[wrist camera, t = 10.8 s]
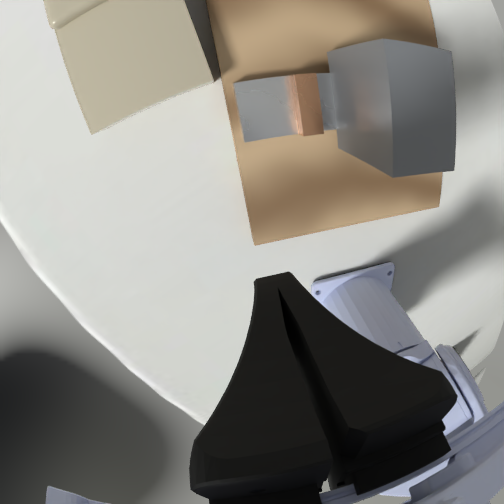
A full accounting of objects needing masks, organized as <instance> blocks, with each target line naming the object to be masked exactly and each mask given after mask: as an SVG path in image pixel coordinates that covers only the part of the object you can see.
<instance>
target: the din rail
mask: <svg viewBox="0 0 504 504" xmlns="http://www.w3.org/2000/svg"><path fill="white" fill-rule="evenodd" d="M232 85H233V90H234V96H235V101H236V106H237V111H238V117H239V122H240V127H241V132H242V138H243V141H244V142H245V143H246V142H251V141H257V140H262V139H268V138H274V137H281V136H287V135H294V134H299V135H302V136H311V135H319V134H324V131H326V130H335V129H336V118H335V109H334V100H333V92H332V84H331V77H330V73H317V74H316V73H307V74H294V75H290V76H280V77H271V78H263V79H256V80H249V81H243V82H237V83H233V84H232Z"/></svg>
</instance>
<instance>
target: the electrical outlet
mask: <svg viewBox="0 0 504 504" xmlns="http://www.w3.org/2000/svg"><path fill="white" fill-rule="evenodd" d="M43 1H44V5H45V10H46V14H47V18H48V22H49V25H50V27H51V28H52V29H55V33H56V36H57V40H58V43H59V47H60V50H61V53H62V56H63V60H64V63H65V66H66V69H67V72H68V75H69V78H70V81H71V83H72V86H73V89H74V92H75V95H76V97H77V100H78V103H79V105H80V108H81V110H82V113H83V116H84V118H85V121H86V123H87V126H88V128H89V130H90V133H91V135H93V134H95V133H97V132H100V131H102V130H105V129H108V128H109V127H111V126H113V125H115V124H117V123H119V122H121V121H123V120H125V119H127V118H129V117H131V116H133V115H135V114H137V113H139V112H142V111H144V110H146V109H148V108H150V107H152V106H155V105H157V104H159V103H162V102H164V101H166V100H169V99H171V98H174V97H176V96H179V95H181V94H184V93H186V92H189V91H192V90H194V89H197V88H200V87H203V86H205V85H208V84H211V83H213V82H214V79H213V77H212V74H211V71H210V68H209V66H208V63H207V60H206V57H205V55H204V52H203V49H202V47H201V44H200V41H199V38H198V36H197V33H196V30H195V28H194V25H193V22H192V20H191V17H190V14H189V12H188V9H187V7H186V4H185V1H184V0H43Z"/></svg>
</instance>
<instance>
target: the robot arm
mask: <svg viewBox="0 0 504 504" xmlns="http://www.w3.org/2000/svg"><path fill="white" fill-rule="evenodd" d="M394 269H395V265H394V264H393V263H392V262H388V263H384V264H381V265H377V266H373V267H370V268H366V269H362V270H358V271H354V272H351V273H347V274H343V275H339V276H335V277H331V278H327V279H323V280H319V281H315V282H314V283H313V284H312V285H311V293H312V295H311V294H310V293H309V292H308V291H307V290H306V289H305V288H304V287H303V286H302V285H301V283H300V282H299V281H298V280H297V279H296V278H295V277H294V275H293V274H292V273H290V272H285V273H280V274H276V275H272V276H267V277H262V278H258V279H256V280H255V281H254V304H253V310H252V316H251V321H250V326H249V330H248V333H247V337H246V341H245V344H244V347H243V350H242V353H241V356H240V359H239V361H238V364H237V367H236V369H235V371H234V373H233V376H232V378H231V380H230V382H229V385H228V387H227V389H226V391H225V392H224V394H223V396H222V398H221V400H220V401H219V403H218V405H217V407H216V409H215V410H214V412H213V414H212V415H211V417H210V418H209V420H208V421H207V423H206V424H205V426H204V427H203V429H202V430H201V431H200V433H199V435H198V436H197V437H196V439H195V440H194V444H193V448H192V452H191V458H190V467H189V471H190V487H191V490H192V491H193V492H195V493H196V494H199V495H201V496H203V497H205V498H208V499H209V504H353V503H356V502H359V501H361V500H364V499H367V498H370V497H372V496H375V495H377V494H380V495H388V496H411V499H410V500H408V501H405V502H403V503H401V504H490V501H489V500H490V499H491V498H493V496H495V495H496V494H497V493H498V492H499V491H500V490H501V489H502V488H503V487H504V401H503V402H502V403H501V404H499V405H498V406H497V407H496V408H494V409H493V410H492V411H490V412H489V413H488V411H487V409H486V407H485V404H484V402H483V401H484V400H483V397H482V394H481V392H480V390H479V387H478V386H477V384H476V382H475V380H474V378H473V377H472V375H471V373H470V372H469V370H468V368H467V367H466V365H465V364H464V362H463V361H462V359H461V358H460V357H459V355H458V354H457V353H456V351H455V350H454V349H453V348H452V347H451V346H449V345H443V344H439V345H438V346H437V347H436V348H435V350H436V352H437V353H438V355H439V357H440V358H441V361H442V362H441V361H440V359H439V358H438V356H437V355H436V353H435V352H434V350H433V349H432V347H431V346H430V344H429V343H428V341H427V340H424V338H423V337H422V335H421V334H420V332H419V331H418V329H417V328H416V326H415V325H414V324H413V322H412V321H411V319H410V318H409V316H408V315H407V314H406V312H405V311H404V309H403V308H402V307H401V305H400V304H399V303H398V301H397V300H396V299H395V297H394V296H393V294H392V293H391V288H392V282H393V276H394ZM389 271H390V272H389ZM388 272H389V273H388ZM318 290H319V291H318ZM316 291H318V292H316ZM442 363H443V364H442ZM444 366H445V367H444ZM445 368H446V369H445ZM447 371H448V372H447ZM327 478H328V482H329V487H330V490H331V491H328V492H324V493H321V494H319V492H322V485H323V482H324V481H326V480H327ZM46 504H109V503H103V502H98V501H93V500H89V499H87V498H85V497H83V496H80V495H77V494H74V493H71V492H68V491H64V490H61V489H57V488H54V487H50V486H49V487H47V496H46Z"/></svg>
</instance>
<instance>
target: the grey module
mask: <svg viewBox="0 0 504 504" xmlns="http://www.w3.org/2000/svg"><path fill="white" fill-rule="evenodd" d="M327 57H328V63H329V70H330V77H331V84H332V92H333V100H334V109H335V118H336V129H337V140H338V148H339V149H341V150H343V151H345V152H347V153H349V154H351V155H353V156H354V157H356V158H358V159H360V160H362V161H364V162H366V163H367V164H369V165H371V166H373V167H375V168H376V169H378V170H380V171H382V172H383V173H385V174H387V175H389V176H390V177H392V178H396V177H404V176H411V175H420V174H428V173H437V172H446V171H454V166H455V149H456V98H455V82H454V71H453V61H452V54H451V51H448V50H444V49H440V48H435V47H431V46H426V45H421V44H416V43H410V42H404V41H398V40H391V39H378V40H373V41H368V42H364V43H360V44H355V45H351V46H347V47H343V48H340V49H336V50H332V51H329V52H327Z"/></svg>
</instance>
